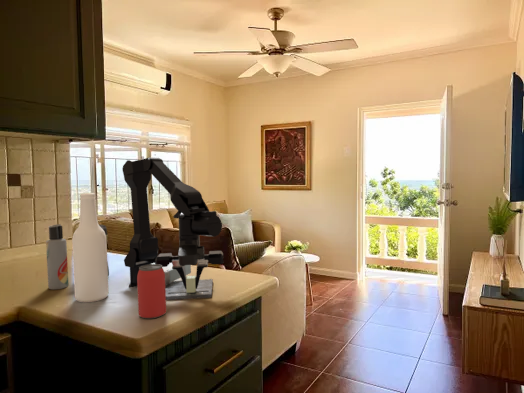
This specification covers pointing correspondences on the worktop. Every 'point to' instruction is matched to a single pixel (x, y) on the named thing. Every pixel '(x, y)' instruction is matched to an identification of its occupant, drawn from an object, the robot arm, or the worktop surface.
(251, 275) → the worktop surface
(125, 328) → the worktop surface
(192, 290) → the fader knob
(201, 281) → the console
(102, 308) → the worktop surface
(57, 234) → the lotion bottle
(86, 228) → the alcohol
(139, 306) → the beer can
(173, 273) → the door
